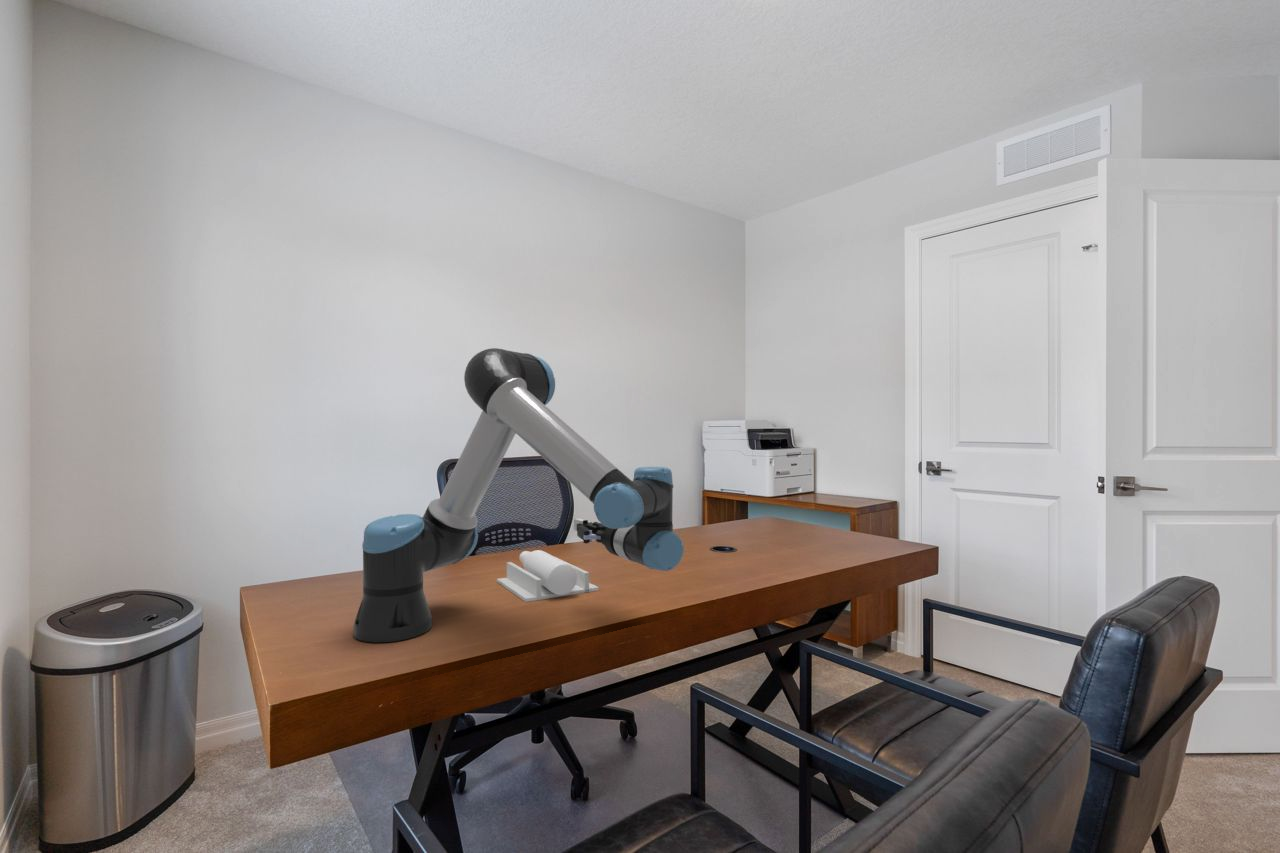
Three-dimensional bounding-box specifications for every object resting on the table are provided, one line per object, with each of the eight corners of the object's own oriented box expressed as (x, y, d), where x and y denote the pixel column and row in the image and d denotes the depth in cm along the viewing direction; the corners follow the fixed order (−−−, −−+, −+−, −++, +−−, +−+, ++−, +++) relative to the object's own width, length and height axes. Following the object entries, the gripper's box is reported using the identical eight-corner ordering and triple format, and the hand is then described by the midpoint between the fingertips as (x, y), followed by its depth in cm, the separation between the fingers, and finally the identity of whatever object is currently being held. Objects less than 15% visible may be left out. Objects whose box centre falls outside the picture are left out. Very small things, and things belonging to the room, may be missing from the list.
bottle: (561, 557, 147) (523, 538, 173) (541, 584, 145) (506, 560, 171) (583, 575, 150) (543, 553, 176) (564, 601, 148) (526, 575, 174)
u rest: (598, 590, 155) (598, 571, 155) (526, 602, 145) (526, 581, 145) (563, 572, 174) (563, 555, 174) (496, 581, 163) (496, 563, 163)
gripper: (653, 519, 127) (600, 506, 147) (599, 524, 120) (551, 510, 140) (653, 554, 127) (600, 537, 147) (599, 561, 120) (551, 542, 140)
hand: (576, 524), depth 143 cm, fingers closed
